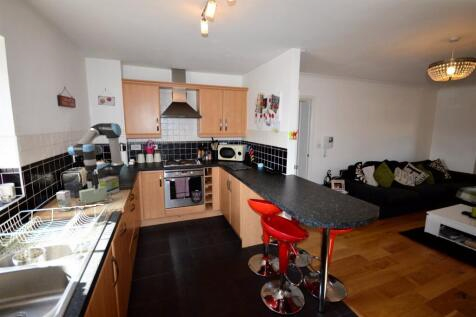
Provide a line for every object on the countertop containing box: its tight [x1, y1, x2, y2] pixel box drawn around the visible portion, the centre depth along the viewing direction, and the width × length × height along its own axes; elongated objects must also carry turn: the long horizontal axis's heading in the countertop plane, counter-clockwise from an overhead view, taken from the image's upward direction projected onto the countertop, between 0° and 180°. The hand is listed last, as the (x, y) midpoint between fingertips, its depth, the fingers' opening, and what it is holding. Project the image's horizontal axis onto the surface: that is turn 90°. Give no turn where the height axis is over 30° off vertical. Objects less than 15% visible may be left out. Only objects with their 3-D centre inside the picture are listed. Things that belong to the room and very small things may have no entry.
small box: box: [63, 181, 84, 199], centre depth 186 cm, size 13×7×12 cm, turn 72°
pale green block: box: [79, 186, 107, 204], centre depth 168 cm, size 17×5×10 cm, turn 141°
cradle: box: [74, 193, 113, 211], centre depth 168 cm, size 22×12×6 cm, turn 142°
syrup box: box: [55, 190, 73, 213], centre depth 155 cm, size 6×6×14 cm
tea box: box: [98, 176, 120, 196], centre depth 194 cm, size 15×10×15 cm, turn 168°
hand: (93, 191), depth 167 cm, fingers open, 13 cm apart
